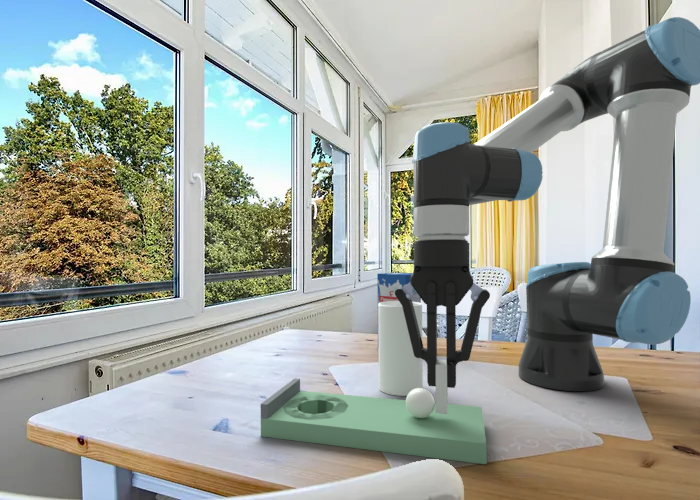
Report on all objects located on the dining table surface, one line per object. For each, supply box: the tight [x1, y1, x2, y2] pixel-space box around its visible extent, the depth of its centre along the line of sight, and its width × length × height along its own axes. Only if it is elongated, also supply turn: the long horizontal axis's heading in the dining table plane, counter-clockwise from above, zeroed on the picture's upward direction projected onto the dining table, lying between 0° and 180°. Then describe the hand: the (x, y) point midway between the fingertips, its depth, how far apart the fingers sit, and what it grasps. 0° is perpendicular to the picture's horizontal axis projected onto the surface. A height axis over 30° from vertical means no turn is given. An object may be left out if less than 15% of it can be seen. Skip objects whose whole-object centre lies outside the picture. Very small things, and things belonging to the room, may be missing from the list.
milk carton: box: [376, 272, 422, 348], centre depth 109 cm, size 10×6×20 cm, turn 43°
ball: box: [405, 387, 436, 418], centre depth 57 cm, size 4×4×4 cm
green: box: [260, 378, 488, 465], centre depth 59 cm, size 30×12×4 cm, turn 75°
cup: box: [377, 301, 424, 397], centre depth 77 cm, size 8×8×16 cm
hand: (441, 409), depth 56 cm, fingers closed
